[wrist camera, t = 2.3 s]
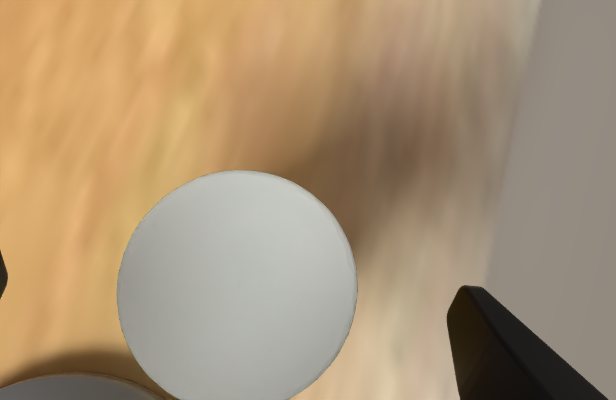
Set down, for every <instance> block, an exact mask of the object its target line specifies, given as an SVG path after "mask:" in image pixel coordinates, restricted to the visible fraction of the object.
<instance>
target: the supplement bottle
mask: <svg viewBox="0 0 616 400" xmlns="http://www.w3.org/2000/svg"><path fill="white" fill-rule="evenodd" d="M357 293H358V284H357V269H356V265H355V260H354V256H353V253H352V250H351V246H350V243H349V241H348V239H347V237H346V235H345V233H344V231H343V229H342V228H341V226H340V224H339V223H338V221H337V219H336V218H335V217H334V215H333V214H332V213H331V211H330V210H329V209H328V208H327V207H326V206H325V205H324V204H323V203H322V202H321V201H320V200H319V199H317V198H316V197H315V196H314V195H313V194H312V193H310V192H309V191H307V190H306V189H304V188H303V187H301V186H299V185H298V184H296V183H294V182H293V181H291V180H288V179H285V178H282V177H279V176H276V175H273V174H270V173H265V172H259V171H253V170H229V171H222V172H216V173H212V174H208V175H204V176H201V177H199V178H196V179H194V180H192V181H189V182H187V183H185V184H183V185H182V186H180V187H178V188H176V189H175V190H173V191H172V192H171V193H169V194H168V195H166V196H165V197H164V198H162V199H161V200H160V201H159V202H158V203H157V204H156V205H155V206H154V207H153V208H152V209H151V210H150V211H149V212H148V213H147V215H146V216H145V217H144V218H143V220H142V221H141V222H140V223H139V225H138V226H137V228H136V230H135V231H134V233H133V234H132V236H131V238H130V240H129V243H128V245H127V247H126V250H125V252H124V255H123V258H122V262H121V266H120V270H119V274H118V282H117V306H118V315H119V320H120V325H121V329H122V332H123V334H124V337H125V339H126V342H127V344H128V347H129V349H130V350H131V352H132V354H133V356H134V357H135V359H136V361H137V362H138V364H139V365H140V367H141V368H142V369H143V370H144V371H145V373H146V374H147V375H148V376H149V377H150V378H151V379H152V380H153V381H154V382H155V383H157V384H158V385H159V386H160V387H161V388H163V389H164V390H165V391H166V392H168V393H169V394H171V395H172V396H174V397H176V398H178V399H180V400H288V399H290V398H292V397H293V396H295V395H297V394H298V393H300V392H301V391H303V390H304V389H306V388H307V387H309V386H310V385H311V384H312V383H313V382H314V381H316V380H317V379H318V378H319V377H320V376H321V375H322V374H323V373H324V371H325V370H326V369H327V368H328V367H329V366H330V365H331V363H332V362H333V361H334V359H335V358H336V357H337V355H338V353H339V352H340V350H341V348H342V346H343V344H344V342H345V340H346V338H347V336H348V335H349V331H350V328H351V324H352V321H353V318H354V314H355V309H356V302H357Z"/></svg>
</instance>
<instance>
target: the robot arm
mask: <svg viewBox="0 0 616 400" xmlns="http://www.w3.org/2000/svg"><path fill="white" fill-rule="evenodd" d="M7 280H8V274H7V270H6V267H5V264H4V260H3V257H2V254H1V251H0V299H1V297H2V294H3V292H4V290H5V288H6V285H7ZM447 327H448V333H449V339H450V345H451V351H452V357H453V363H454V369H455V375H456V381H457V386H458V392H459V396H460V400H608V399H607V398H606V397H605V396H604V395H603V394H602V393H600V392H599V391H598V390H597V389H596V388H595V387H594V386H593V385H591V384H590V383H589V382H588V381H587V380H586V379H585V378H584V377H583V376H581V375H580V374H579V373H578V372H577V371H576V370H575V369H574V368H572V367H571V366H570V365H569V364H568V363H567V362H566V361H565V360H564V359H562V358H561V357H560V356H559V355H558V354H556V352H555V351H553V350H552V349H551V348H550V347H549V346H548V345H547V344H546V343H544V342H543V341H542V340H541V339H540V338H539V337H538V336H537V335H535V334H534V333H533V332H532V331H531V330H530V329H529V328H528V327H526V326H525V325H524V324H523V323H522V322H521V321H520V320H519V319H517V318H516V317H515V316H514V315H513V314H512V313H511V312H510V311H508V310H507V309H506V308H505V307H504V306H503V305H502V304H501V303H500V302H498V301H497V300H496V299H495V298H494V297H493V296H492V295H491V294H489V293H488V292H487V291H486V290H485V289H484V288H482V287H479V286H468V285H464V286H461V287H460V288H459V290H458V292H457V294H456V296H455V298H454V300H453V302H452V304H451V306H450V308H449V310H448V313H447Z"/></svg>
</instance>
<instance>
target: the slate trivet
mask: <svg viewBox="0 0 616 400" xmlns="http://www.w3.org/2000/svg"><path fill="white" fill-rule="evenodd" d="M0 400H166V399H164V398H163V397H161V396H160V395H158V394H156V393H155V392H153V391H151V390H150V389H148V388H146V387H144V386H141V385H139V384H137V383H134V382H132V381H130V380H127V379H123V378H119V377H116V376H112V375H108V374H100V373H93V372H61V373H53V374H46V375H40V376H36V377H33V378H29V379H25V380H21V381H18V382H16V383H13V384H11V385H8V386H6V387H3V388H0Z"/></svg>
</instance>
